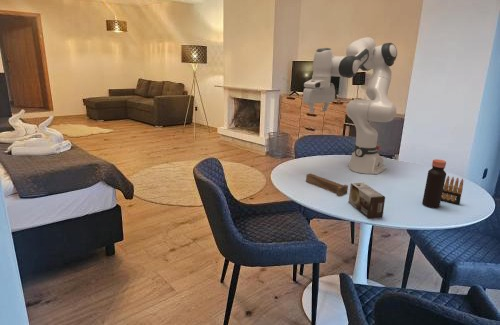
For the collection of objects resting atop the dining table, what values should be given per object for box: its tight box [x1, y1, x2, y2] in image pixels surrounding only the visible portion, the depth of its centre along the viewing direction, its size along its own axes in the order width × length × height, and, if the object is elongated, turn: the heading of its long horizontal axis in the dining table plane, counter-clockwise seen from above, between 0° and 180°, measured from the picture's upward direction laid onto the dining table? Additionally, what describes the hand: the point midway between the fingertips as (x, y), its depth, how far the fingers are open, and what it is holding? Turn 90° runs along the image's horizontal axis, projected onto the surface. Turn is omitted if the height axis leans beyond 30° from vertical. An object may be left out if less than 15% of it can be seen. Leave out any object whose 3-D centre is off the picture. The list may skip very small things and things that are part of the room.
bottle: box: [421, 159, 447, 209], centre depth 143 cm, size 7×7×20 cm
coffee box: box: [348, 181, 386, 219], centre depth 138 cm, size 9×6×16 cm
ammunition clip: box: [441, 175, 464, 206], centre depth 149 cm, size 11×2×12 cm, turn 52°
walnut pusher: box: [305, 172, 349, 197], centre depth 162 cm, size 6×22×4 cm, turn 39°
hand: (318, 112), depth 167 cm, fingers open, 8 cm apart
